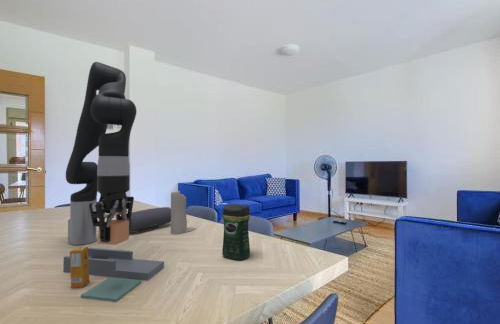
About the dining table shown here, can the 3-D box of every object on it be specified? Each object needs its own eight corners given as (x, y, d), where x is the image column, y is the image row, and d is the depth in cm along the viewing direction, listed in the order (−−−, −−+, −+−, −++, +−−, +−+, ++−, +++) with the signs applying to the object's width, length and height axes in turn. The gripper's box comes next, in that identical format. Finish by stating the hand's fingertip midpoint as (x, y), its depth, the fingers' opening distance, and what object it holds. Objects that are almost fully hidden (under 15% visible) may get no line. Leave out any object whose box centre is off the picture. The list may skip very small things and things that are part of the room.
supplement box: (76, 282, 71) (76, 246, 71) (89, 282, 71) (89, 246, 71) (68, 288, 68) (69, 250, 68) (82, 288, 68) (83, 250, 68)
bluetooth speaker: (162, 223, 140) (163, 205, 140) (173, 226, 135) (174, 207, 135) (121, 232, 122) (121, 211, 122) (132, 236, 116) (132, 213, 116)
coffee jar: (253, 255, 93) (253, 204, 93) (242, 262, 86) (242, 207, 87) (230, 250, 98) (231, 201, 98) (218, 257, 91) (219, 204, 91)
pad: (80, 297, 63) (80, 295, 63) (109, 279, 73) (109, 277, 73) (116, 301, 62) (116, 299, 62) (141, 282, 72) (141, 280, 72)
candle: (199, 228, 130) (199, 189, 130) (177, 235, 118) (178, 191, 118) (188, 226, 134) (189, 188, 134) (167, 232, 122) (167, 190, 122)
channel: (63, 272, 78) (63, 257, 78) (87, 260, 87) (87, 247, 87) (147, 280, 73) (147, 264, 73) (164, 267, 82) (164, 253, 82)
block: (98, 243, 65) (98, 223, 65) (112, 237, 70) (112, 219, 70) (115, 244, 65) (116, 225, 65) (128, 239, 69) (128, 220, 69)
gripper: (106, 175, 60) (106, 248, 60) (142, 173, 74) (142, 232, 74) (78, 174, 61) (78, 246, 61) (119, 172, 75) (119, 230, 75)
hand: (113, 238), depth 68 cm, fingers closed on block, 5 cm apart
